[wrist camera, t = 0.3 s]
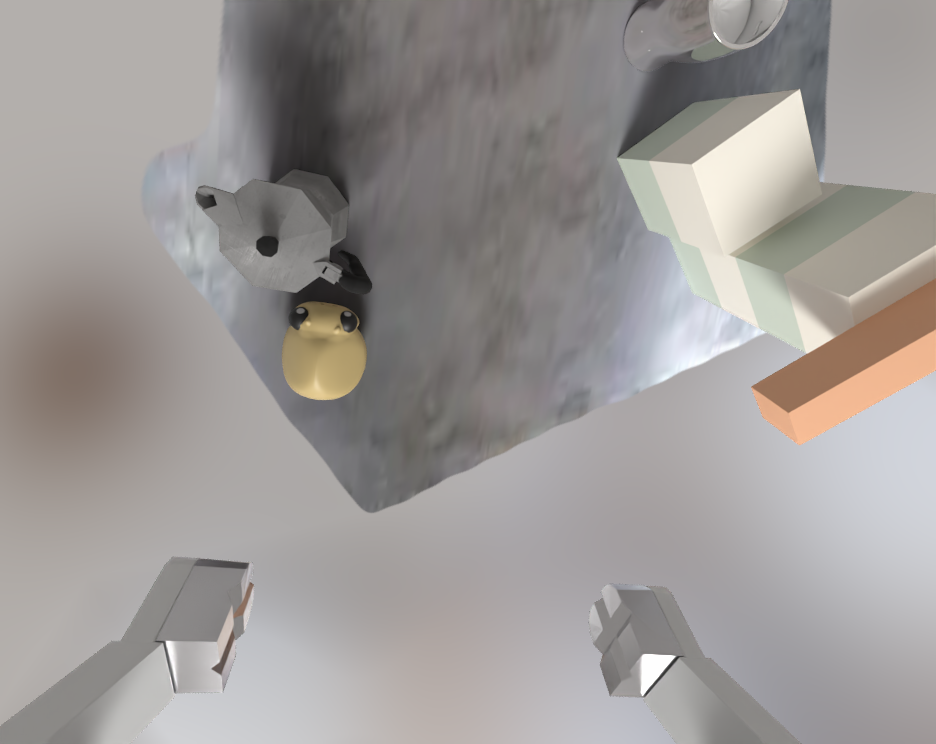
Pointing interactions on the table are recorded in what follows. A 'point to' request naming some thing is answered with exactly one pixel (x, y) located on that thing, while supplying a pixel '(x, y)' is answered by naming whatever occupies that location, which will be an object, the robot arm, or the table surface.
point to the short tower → (724, 170)
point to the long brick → (853, 369)
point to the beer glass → (697, 30)
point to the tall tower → (823, 264)
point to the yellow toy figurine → (323, 351)
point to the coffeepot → (284, 231)
